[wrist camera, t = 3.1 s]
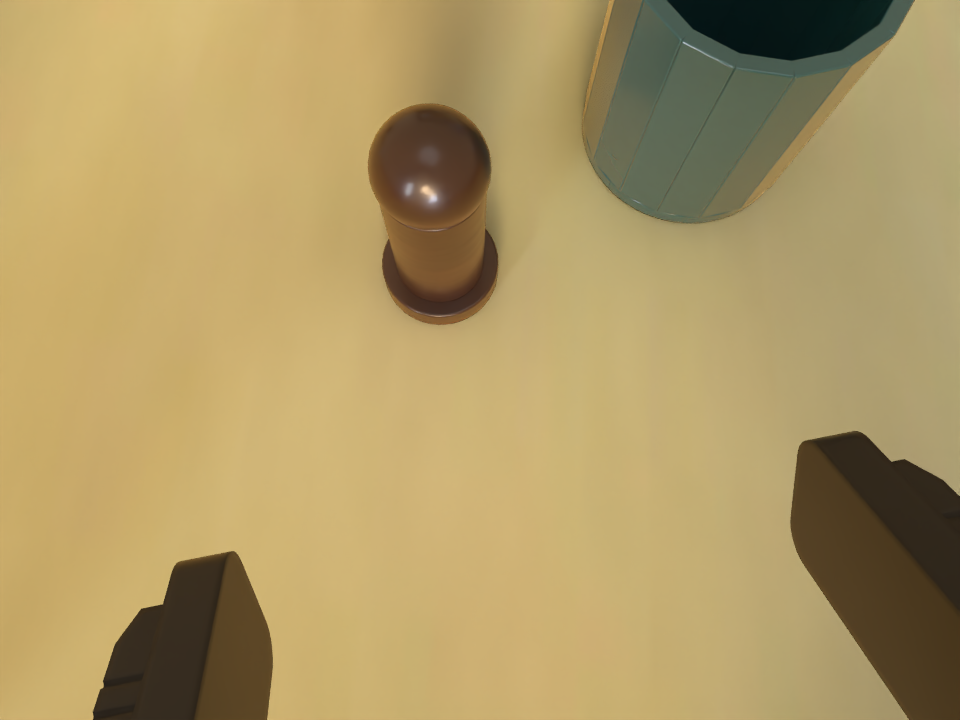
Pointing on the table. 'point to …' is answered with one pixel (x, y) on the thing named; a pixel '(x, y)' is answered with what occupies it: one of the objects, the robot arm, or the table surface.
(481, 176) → the game pawn
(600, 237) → the table surface
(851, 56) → the cup
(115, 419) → the table surface
